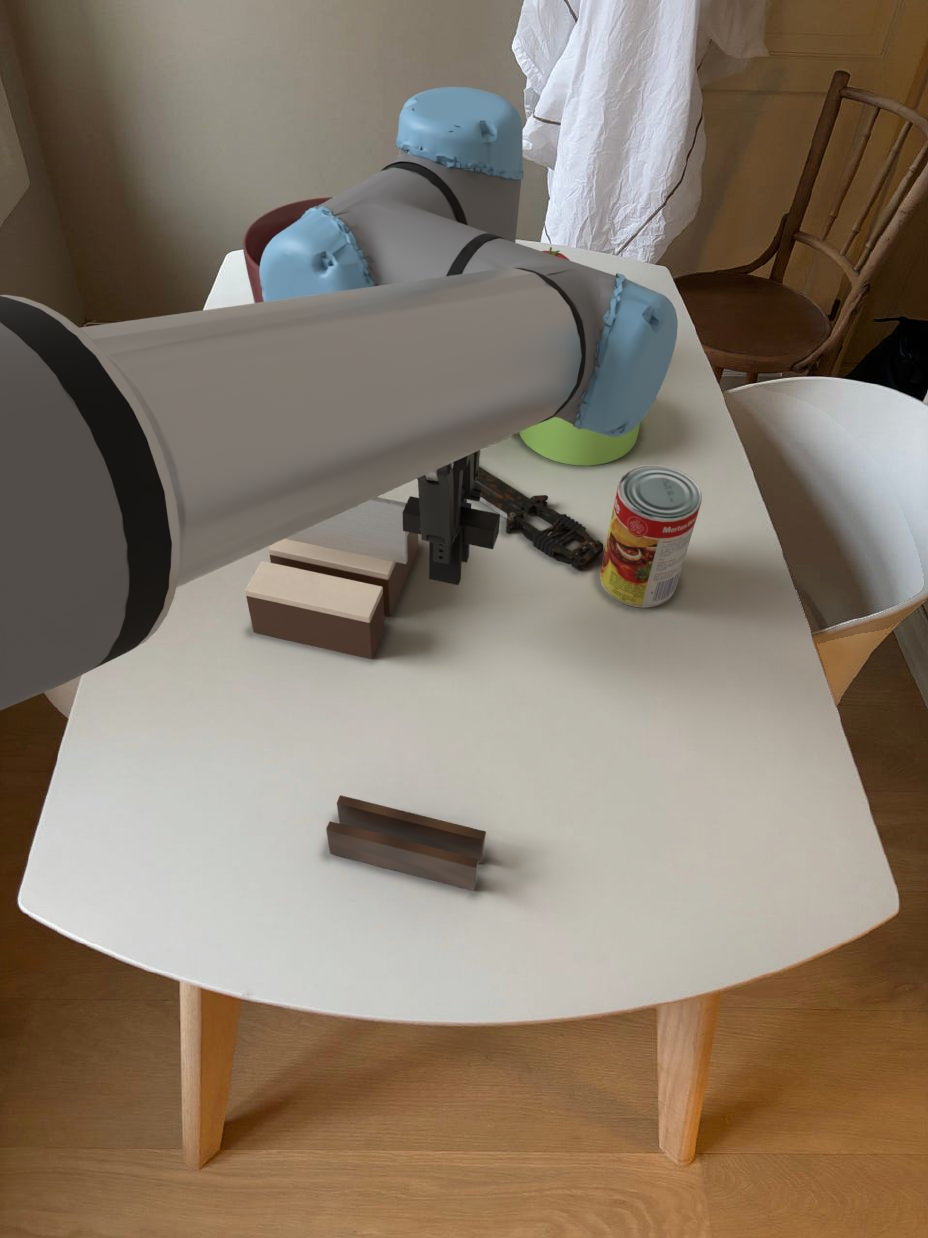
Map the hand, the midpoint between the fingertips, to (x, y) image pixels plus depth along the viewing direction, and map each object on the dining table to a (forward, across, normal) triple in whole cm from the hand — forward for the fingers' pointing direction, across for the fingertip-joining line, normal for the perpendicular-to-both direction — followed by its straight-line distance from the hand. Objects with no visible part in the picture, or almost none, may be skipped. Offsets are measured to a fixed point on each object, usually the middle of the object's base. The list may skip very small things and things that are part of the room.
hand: (449, 567), depth 84 cm
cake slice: (+9, -3, +12) cm, 15 cm away
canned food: (+10, +13, -17) cm, 23 cm away
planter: (+10, +32, +21) cm, 39 cm away
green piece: (+10, +41, -5) cm, 43 cm away
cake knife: (0, 0, +8) cm, 8 cm away
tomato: (+10, +64, +3) cm, 65 cm away
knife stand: (+9, -23, -3) cm, 25 cm away
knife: (+10, +20, -1) cm, 22 cm away
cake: (+9, +6, +12) cm, 16 cm away
